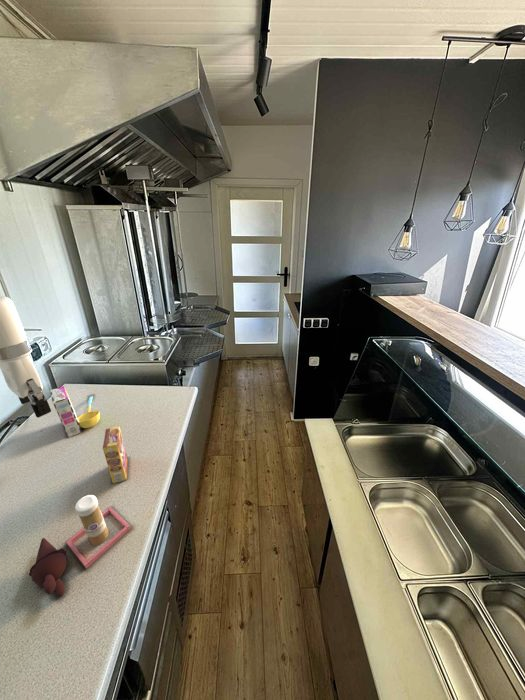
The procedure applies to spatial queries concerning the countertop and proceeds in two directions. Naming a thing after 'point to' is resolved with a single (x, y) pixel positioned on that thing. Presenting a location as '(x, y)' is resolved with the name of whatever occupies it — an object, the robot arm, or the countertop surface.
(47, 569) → the icecream
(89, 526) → the sprinkles bottle
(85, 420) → the ladle
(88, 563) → the pink rectangular frame
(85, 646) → the countertop surface
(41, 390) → the robot arm
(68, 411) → the candy bar box
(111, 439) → the candy box
